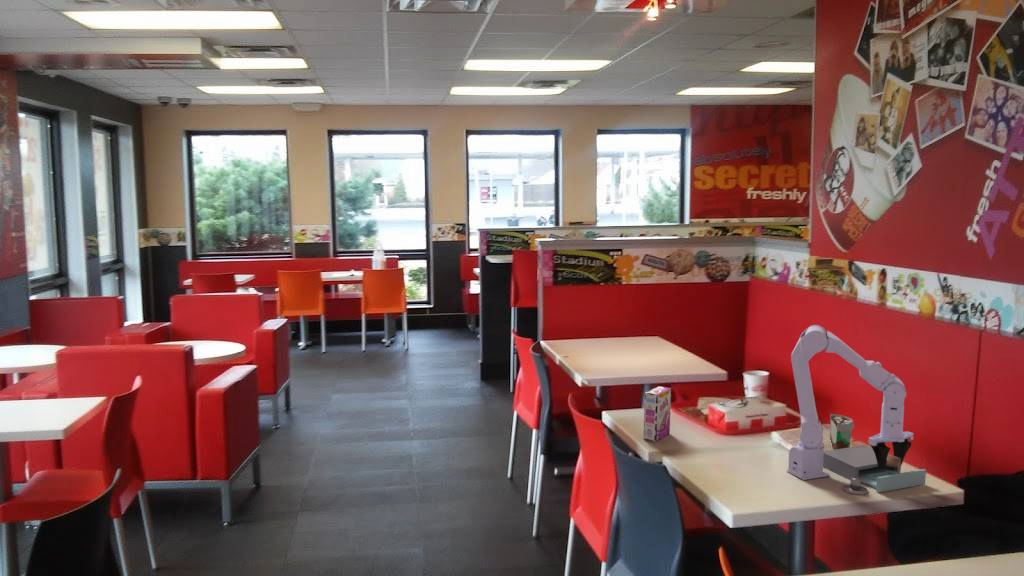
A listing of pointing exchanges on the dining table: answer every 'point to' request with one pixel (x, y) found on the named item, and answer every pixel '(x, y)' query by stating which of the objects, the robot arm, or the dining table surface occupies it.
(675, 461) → the dining table surface
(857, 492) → the disc stand
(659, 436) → the candy bar box
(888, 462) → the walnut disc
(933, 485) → the dining table surface
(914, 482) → the drawer
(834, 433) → the food container
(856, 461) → the cabinet
